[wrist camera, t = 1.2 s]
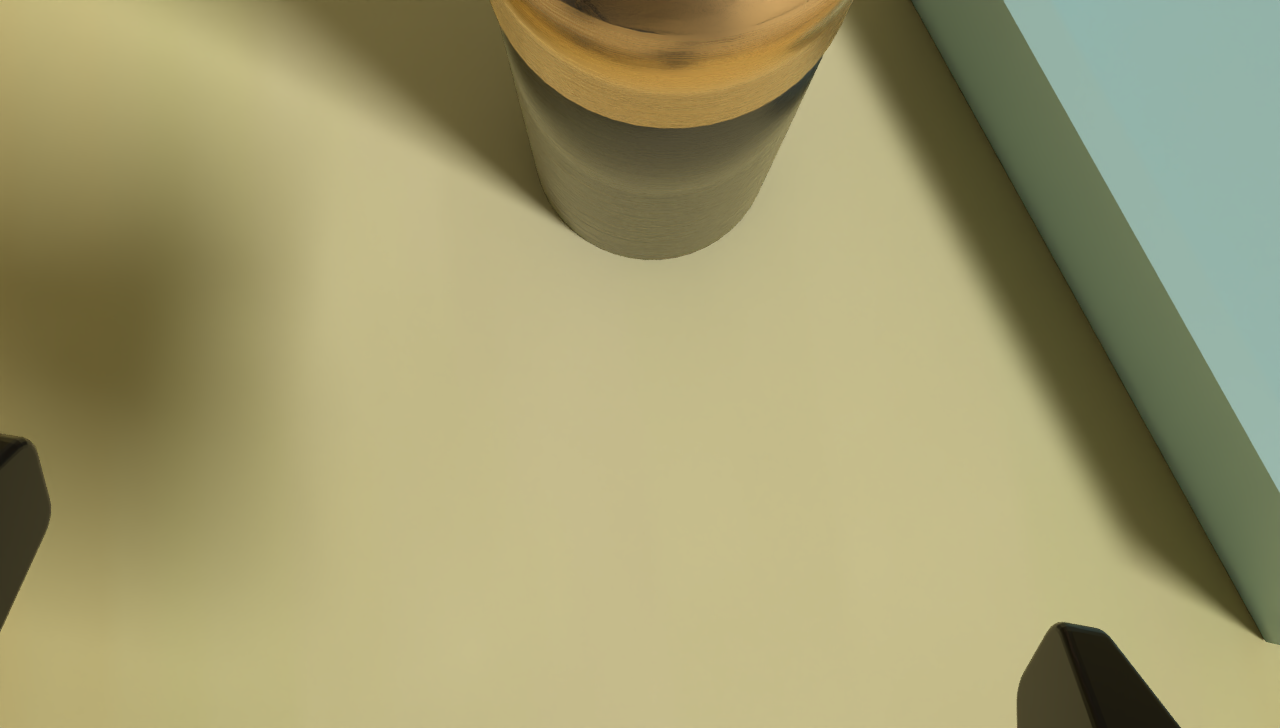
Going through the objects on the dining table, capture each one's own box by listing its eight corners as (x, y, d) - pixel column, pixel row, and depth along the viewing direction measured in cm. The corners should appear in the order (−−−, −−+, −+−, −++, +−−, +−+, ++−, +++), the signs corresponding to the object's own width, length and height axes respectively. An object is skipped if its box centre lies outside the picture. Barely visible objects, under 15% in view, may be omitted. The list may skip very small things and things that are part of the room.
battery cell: (812, 196, 24) (1031, -135, 11) (598, 303, 24) (575, 86, 11) (702, -10, 25) (794, -551, 12) (490, 92, 24) (348, -351, 12)
